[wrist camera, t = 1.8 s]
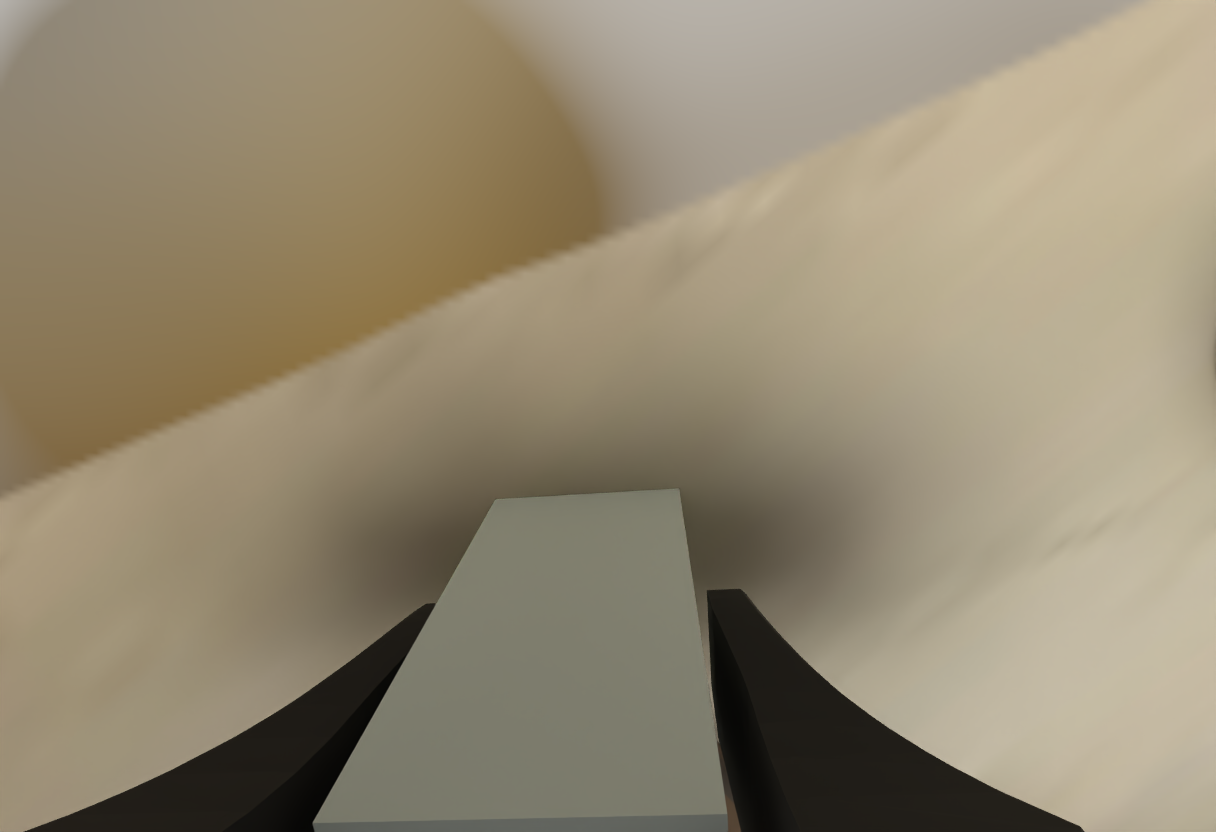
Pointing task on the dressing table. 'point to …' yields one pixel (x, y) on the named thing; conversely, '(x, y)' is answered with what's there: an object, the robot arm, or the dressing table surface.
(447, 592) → the sage peg
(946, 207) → the dressing table surface
